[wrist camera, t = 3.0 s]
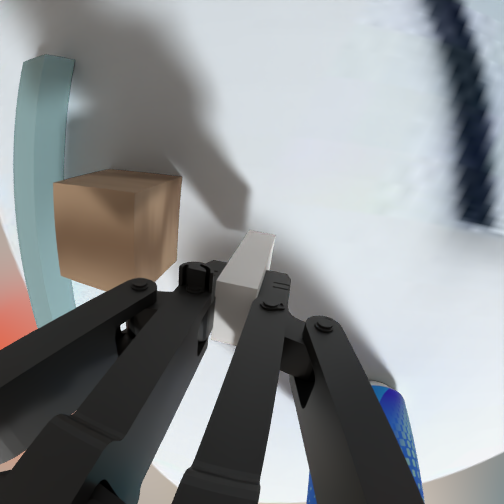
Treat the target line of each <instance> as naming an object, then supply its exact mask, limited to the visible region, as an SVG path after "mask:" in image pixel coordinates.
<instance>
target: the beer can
mask: <svg viewBox="0 0 504 504" xmlns="http://www.w3.org/2000/svg"><path fill="white" fill-rule="evenodd" d="M369 382H370V384H371V386H372V388H373V390H374V392H375V394H376V396H377V398H378V400H379V403H380V405H381V407H382V409H383V411H384V413H385V415H386V417H387V419H388V422H389V424H390V426H391V428H392V430H393V432H394V434H395V437H396V439H397V441H398V443H399V445H400V448H401V450H402V452H403V454H404V457H405V459H406V461H407V463H408V466H409V468H410V470H411V473H412V475H413V477H414V480H415V482H416V484H417V487H418V489H419V492H420V494H421V496H422V499H423V501H424V496H423V489H422V482H421V476H420V470H419V465H418V459H417V454H416V449H415V444H414V439H413V435H412V430H411V426H410V422H409V417H408V413H407V409H406V405H405V401H404V399H403V397H402V395H401V394H400V393H399V392H397V391H396V390H394V389H392V388H390V387H389V386H387V385H385V384H383V383H381V382H377V381H369ZM307 504H317V502H316V497H315V492H314V488H313V483H312V479H311V474H310V471H309V483H308V494H307ZM424 504H425V503H424Z"/></svg>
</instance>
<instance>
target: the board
mask: <svg viewBox="0 0 504 504" xmlns="http://www.w3.org/2000/svg"><path fill="white" fill-rule="evenodd" d="M74 62H75V60H73V59H68V58H63V57H58V56H53V55H47V54H45V55H42V56H39V57H36V58H33V59H30V60H28V61H25V62H23V66H22V72H21V77H20V84H19V90H18V98H17V107H16V117H15V130H14V155H13V173H14V198H15V212H16V222H17V231H18V239H19V246H20V253H21V259H22V265H23V270H24V275H25V280H26V285H27V289H28V294H29V298H30V302H31V306H32V310H33V313H34V317H35V320H36V324H37V327H38V328H40V327H42V326H44V325H46V324H47V323H49V322H51V321H53V320H55V319H56V318H58V317H60V316H62V315H64V314H66V313H67V312H69V311H71V310H73V309H75V308H76V307H75V301H74V295H73V289H72V283H71V279H68V278H65V277H63V276H61V274H60V267H59V260H58V252H57V243H56V232H55V219H54V201H53V183H54V182H58V181H62V180H64V148H65V131H66V119H67V109H68V101H69V93H70V86H71V80H72V73H73V68H74Z"/></svg>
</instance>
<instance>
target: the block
mask: <svg viewBox="0 0 504 504" xmlns="http://www.w3.org/2000/svg"><path fill="white" fill-rule="evenodd" d="M181 184H182V177H180V176H172V175H163V174H155V173H146V172H136V171H126V170H115V169H107V170H103V171H98V172H94V173H90V174H85V175H81V176H77V177H73V178H69V179H65V180H62V181H58V182H54V183H53V201H54V219H55V232H56V243H57V252H58V260H59V267H60V274H61V276H63V277H65V278H68V279H71V280H74V281H77V282H80V283H83V284H85V285H88V286H91V287H94V288H97V289H101V290H104V291H109V290H110V289H112V288H114V287H116V286H118V285H120V284H122V283H124V282H126V281H128V280H131V279H134V278H146V279H149V280H152V281H153V282H155V281H156V280H157V279H158V278H159V277H160V276H161V275H162V274H163V273H164V272H165V271H166V270H167V269H168V268H169V267H170V266H171V265H172V264H174V263H175V262H176V261H177V242H178V224H179V209H180V196H181Z"/></svg>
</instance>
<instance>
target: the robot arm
mask: <svg viewBox="0 0 504 504" xmlns="http://www.w3.org/2000/svg"><path fill="white" fill-rule="evenodd" d="M275 237H276V235H273V234H268V233H262V232H257V231H252V230H249V231H248V233H247V234H246V236H245V237H244V239H243V240H242V242H241V243H240V245H239V246H238V248H237V249H236V251H235V253H234V254H233V256H232V257H231V259H230V260H229V262H228V263H226V262H221V261H216V260H213V261H211V262H208V263H206V264H204V263H200V262H187V263H183V264H182V265H180V266H179V286H178V287H177V288H176V289H175V290H174V291H173V292H162V291H157V285H156V283H155V282H153V281H152V280H149V279H146V278H134V279H131V280H128V281H126V282H124V283H122V284H120V285H118V286H116V287H114V288H112V289H110V290H109V291H107V292H105V293H103V294H101V295H99V296H97V297H95V298H93V299H92V300H90V301H88V302H86V303H84V304H82V305H80V306H79V307H77V308H75V309H73V310H71V311H69V312H67V313H66V314H64V315H62V316H60V317H58V318H56V319H55V320H53V321H51V322H49V323H47V324H46V325H44V326H42V327H40V328H38V329H37V330H35V331H33V332H31V333H29V334H28V335H26V336H24V337H22V338H21V339H19V340H17V341H15V342H14V343H12V344H10V345H9V346H7V347H5V348H3V349H2V350H0V464H2V463H4V462H7V461H8V460H11V459H13V458H15V457H16V456H18V455H19V454H20V453H22V452H24V451H25V450H26V451H25V453H24V454H23V455H22V457H21V458H20V459H19V460H18V462H17V463H16V465H15V466H14V467H13V468H12V470H8V471H3V472H0V504H137V503H138V500H139V495H140V487H141V484H142V481H143V479H144V477H145V475H146V473H147V471H148V469H149V467H150V465H151V463H152V461H153V459H154V456H155V454H156V452H157V450H158V448H159V446H160V444H161V442H162V440H163V438H164V436H165V434H166V432H167V430H168V428H169V425H170V423H171V421H172V419H173V417H174V415H175V413H176V411H177V409H178V407H179V405H180V403H181V401H182V399H183V396H184V394H185V392H186V390H187V388H188V386H189V384H190V382H191V380H192V378H193V376H194V374H195V372H196V370H197V367H198V365H199V363H200V361H201V359H202V357H203V355H204V353H205V351H206V349H207V345H208V336H209V334H210V333H211V340H214V341H218V342H222V343H226V344H230V345H235V346H237V347H236V349H235V352H234V355H233V358H232V360H231V363H230V366H229V369H228V371H227V374H226V377H225V379H224V382H223V385H222V388H221V390H220V393H219V396H218V398H217V401H216V404H215V406H214V409H213V412H212V414H211V417H210V420H209V422H208V425H207V428H206V430H205V433H204V436H203V438H202V441H201V444H200V446H199V449H198V451H197V454H196V457H195V459H194V462H193V464H192V466H191V467H190V468H188V469H187V470H186V472H185V473H184V475H183V477H182V480H181V482H180V484H179V487H178V489H177V492H176V494H175V497H174V500H173V502H172V504H258V500H259V494H260V476H261V471H262V466H263V461H264V456H265V451H266V446H267V441H268V435H269V430H270V424H271V418H272V413H273V407H274V401H275V395H276V389H277V383H278V377H279V370H281V371H283V372H286V373H288V374H290V384H291V389H292V393H293V397H294V402H295V406H296V411H297V415H298V420H299V424H300V429H301V433H302V438H303V442H304V447H305V451H306V456H307V460H308V465H309V469H310V474H311V479H312V483H313V488H314V492H315V497H316V502H317V504H424V501H423V499H422V496H421V494H420V492H419V489H418V487H417V484H416V482H415V480H414V477H413V475H412V473H411V470H410V468H409V466H408V463H407V461H406V459H405V457H404V454H403V452H402V450H401V448H400V445H399V443H398V441H397V439H396V437H395V434H394V432H393V430H392V428H391V426H390V424H389V422H388V419H387V417H386V415H385V413H384V411H383V409H382V407H381V405H380V403H379V400H378V398H377V396H376V394H375V392H374V390H373V388H372V386H371V384H370V382H369V380H368V378H367V376H366V374H365V372H364V370H363V368H362V366H361V364H360V362H359V360H358V358H357V356H356V354H355V352H354V350H353V348H352V346H351V344H350V342H349V340H348V338H347V336H346V334H345V333H344V331H343V329H342V327H341V326H340V324H339V323H338V322H336V321H335V320H333V319H331V318H328V317H325V316H313V317H310V318H308V319H307V321H306V322H303V321H301V320H299V319H297V318H295V317H294V316H292V315H291V314H290V313H289V311H288V298H289V290H290V283H291V279H290V278H289V276H288V275H287V274H284V273H279V272H274V271H269V270H270V264H271V259H272V253H273V248H274V242H275ZM124 322H126V329H125V330H123V331H121V329H120V325H121V324H123V323H124ZM211 331H212V332H211ZM76 410H77V411H76ZM75 411H76V412H75ZM74 412H75V413H74ZM72 413H74V414H72ZM71 414H72V415H71Z"/></svg>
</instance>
